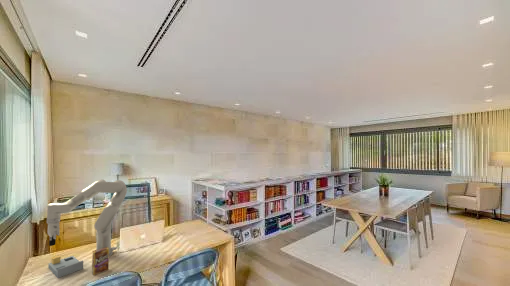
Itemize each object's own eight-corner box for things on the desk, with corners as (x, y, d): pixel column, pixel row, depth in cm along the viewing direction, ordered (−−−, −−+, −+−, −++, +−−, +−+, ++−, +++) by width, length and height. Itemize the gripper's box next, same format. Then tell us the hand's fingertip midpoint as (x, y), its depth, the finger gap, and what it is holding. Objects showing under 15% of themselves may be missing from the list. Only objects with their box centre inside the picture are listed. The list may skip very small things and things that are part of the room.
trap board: (72, 259, 170) (72, 252, 170) (83, 268, 158) (83, 260, 158) (48, 267, 159) (48, 259, 159) (57, 278, 146) (57, 269, 147)
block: (58, 260, 163) (58, 254, 163) (60, 262, 160) (60, 256, 161) (51, 262, 160) (51, 257, 160) (53, 264, 157) (53, 258, 157)
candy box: (93, 275, 150) (93, 252, 150) (91, 273, 152) (92, 250, 153) (108, 270, 156) (109, 248, 156) (106, 268, 159) (107, 246, 159)
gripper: (63, 220, 163) (62, 246, 163) (57, 216, 172) (55, 240, 171) (49, 223, 157) (48, 250, 157) (43, 219, 166) (42, 244, 165)
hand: (52, 245), depth 164 cm, fingers closed
